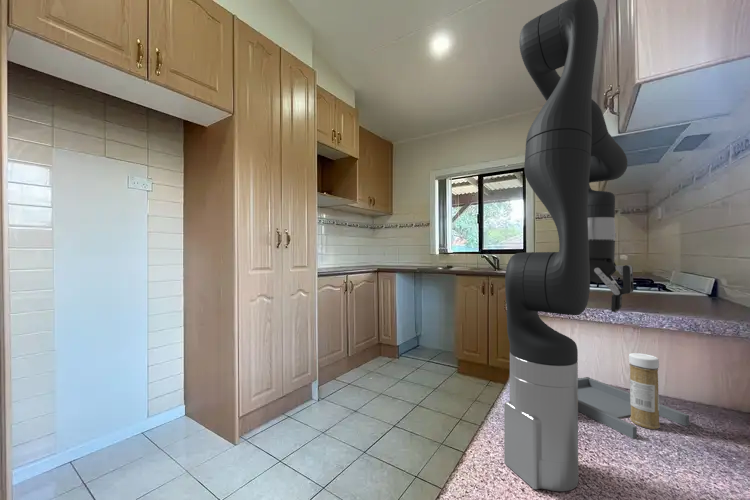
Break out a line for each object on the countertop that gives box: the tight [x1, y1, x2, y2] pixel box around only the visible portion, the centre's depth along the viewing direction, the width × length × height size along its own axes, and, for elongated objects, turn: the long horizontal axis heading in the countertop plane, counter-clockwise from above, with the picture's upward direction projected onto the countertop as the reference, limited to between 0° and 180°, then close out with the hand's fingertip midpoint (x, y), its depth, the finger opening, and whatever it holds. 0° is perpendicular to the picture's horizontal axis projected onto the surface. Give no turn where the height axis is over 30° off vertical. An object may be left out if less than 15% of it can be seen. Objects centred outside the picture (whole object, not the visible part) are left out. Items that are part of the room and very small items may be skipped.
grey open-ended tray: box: [578, 376, 690, 439], centre depth 69 cm, size 16×21×2 cm
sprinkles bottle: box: [628, 352, 661, 430], centre depth 62 cm, size 5×5×13 cm
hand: (592, 308), depth 73 cm, fingers open, 8 cm apart
